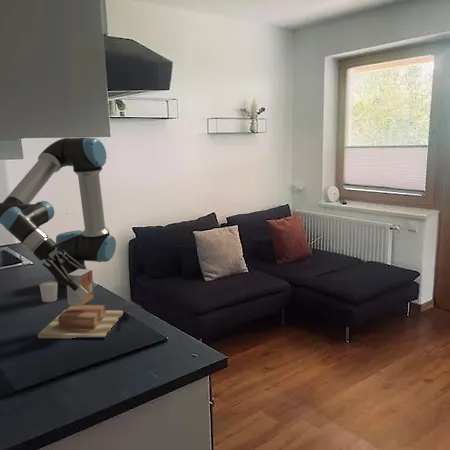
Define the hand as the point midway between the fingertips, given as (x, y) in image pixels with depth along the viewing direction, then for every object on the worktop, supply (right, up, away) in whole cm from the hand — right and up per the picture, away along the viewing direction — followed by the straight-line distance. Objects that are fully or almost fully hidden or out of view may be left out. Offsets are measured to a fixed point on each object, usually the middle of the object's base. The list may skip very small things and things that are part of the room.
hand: (90, 291), depth 154 cm
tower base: (-3, -12, +3) cm, 13 cm away
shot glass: (-25, -8, +28) cm, 38 cm away
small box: (-3, -4, +1) cm, 5 cm away
